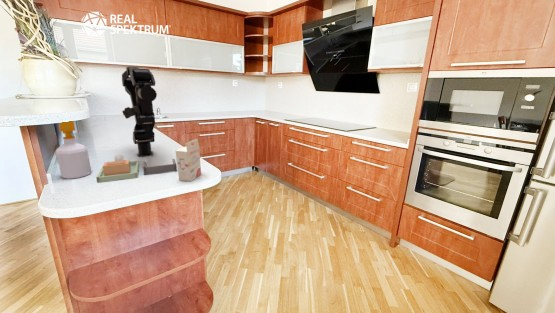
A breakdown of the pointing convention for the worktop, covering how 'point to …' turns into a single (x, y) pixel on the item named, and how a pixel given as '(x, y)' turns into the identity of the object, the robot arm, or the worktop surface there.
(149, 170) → the printer bay
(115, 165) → the raised panel orange block
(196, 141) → the ink cartridge box
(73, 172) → the soap bottle
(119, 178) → the tray
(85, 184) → the worktop surface
